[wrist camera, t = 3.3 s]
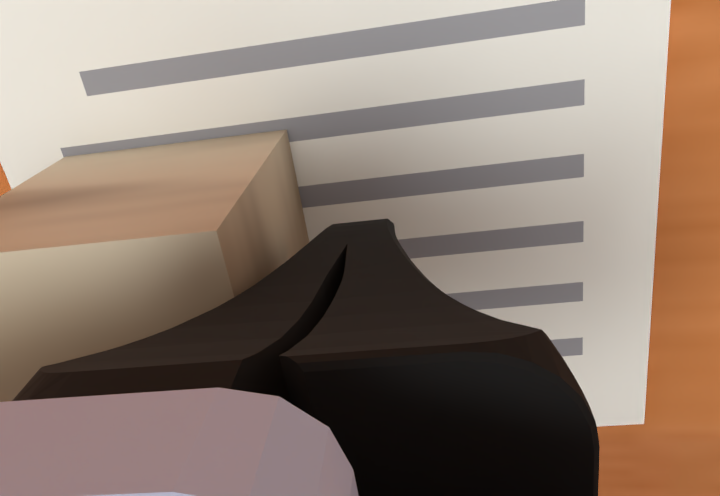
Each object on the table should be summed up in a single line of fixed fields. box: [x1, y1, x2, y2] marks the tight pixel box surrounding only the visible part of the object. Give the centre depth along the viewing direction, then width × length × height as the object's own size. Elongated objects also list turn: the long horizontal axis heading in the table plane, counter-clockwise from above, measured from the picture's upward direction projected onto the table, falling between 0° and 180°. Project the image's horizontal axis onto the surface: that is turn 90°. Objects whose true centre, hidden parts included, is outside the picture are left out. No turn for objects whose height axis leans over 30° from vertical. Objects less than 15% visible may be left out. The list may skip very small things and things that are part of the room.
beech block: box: [0, 129, 309, 402], centre depth 12 cm, size 5×5×5 cm
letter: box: [0, 0, 671, 427], centre depth 14 cm, size 12×14×1 cm
